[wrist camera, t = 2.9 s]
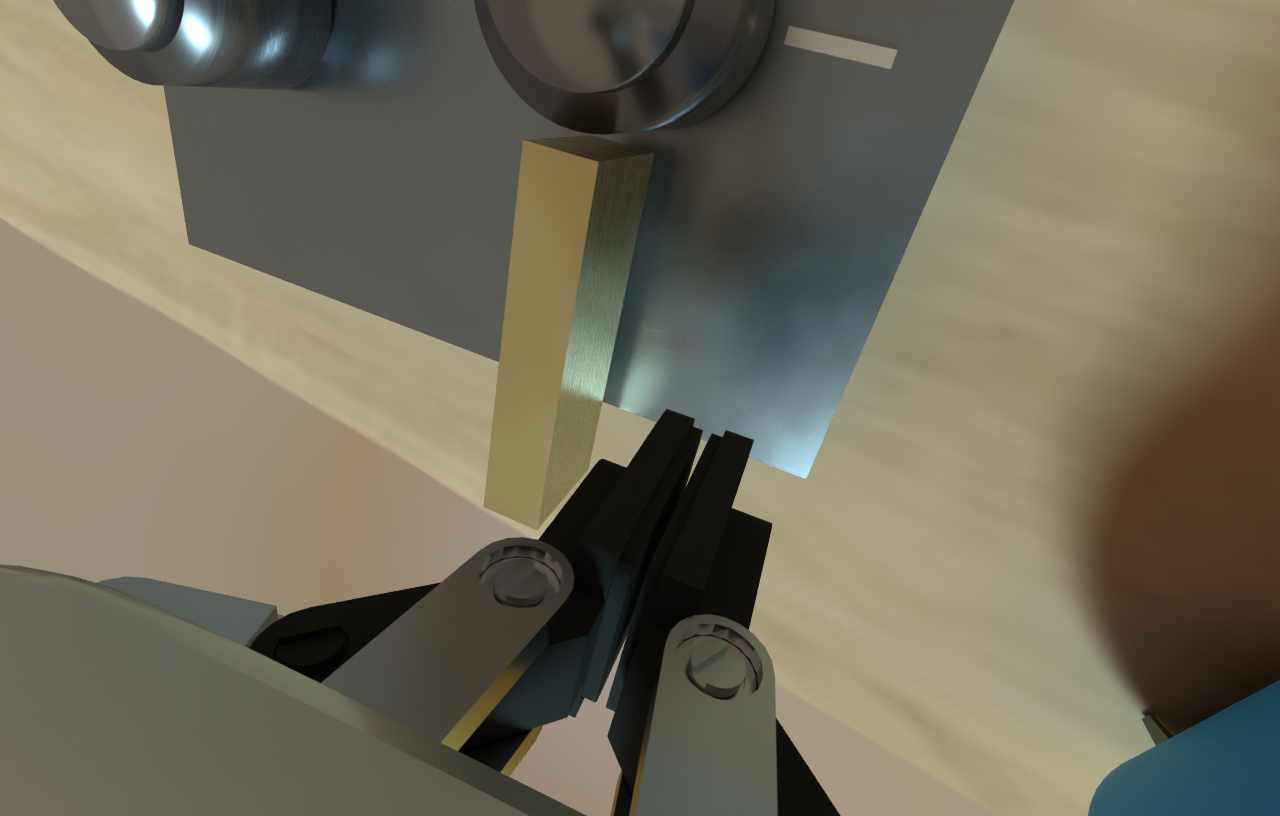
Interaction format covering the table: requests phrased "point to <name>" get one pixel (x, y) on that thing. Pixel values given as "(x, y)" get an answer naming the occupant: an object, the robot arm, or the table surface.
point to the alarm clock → (1203, 766)
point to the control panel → (672, 213)
